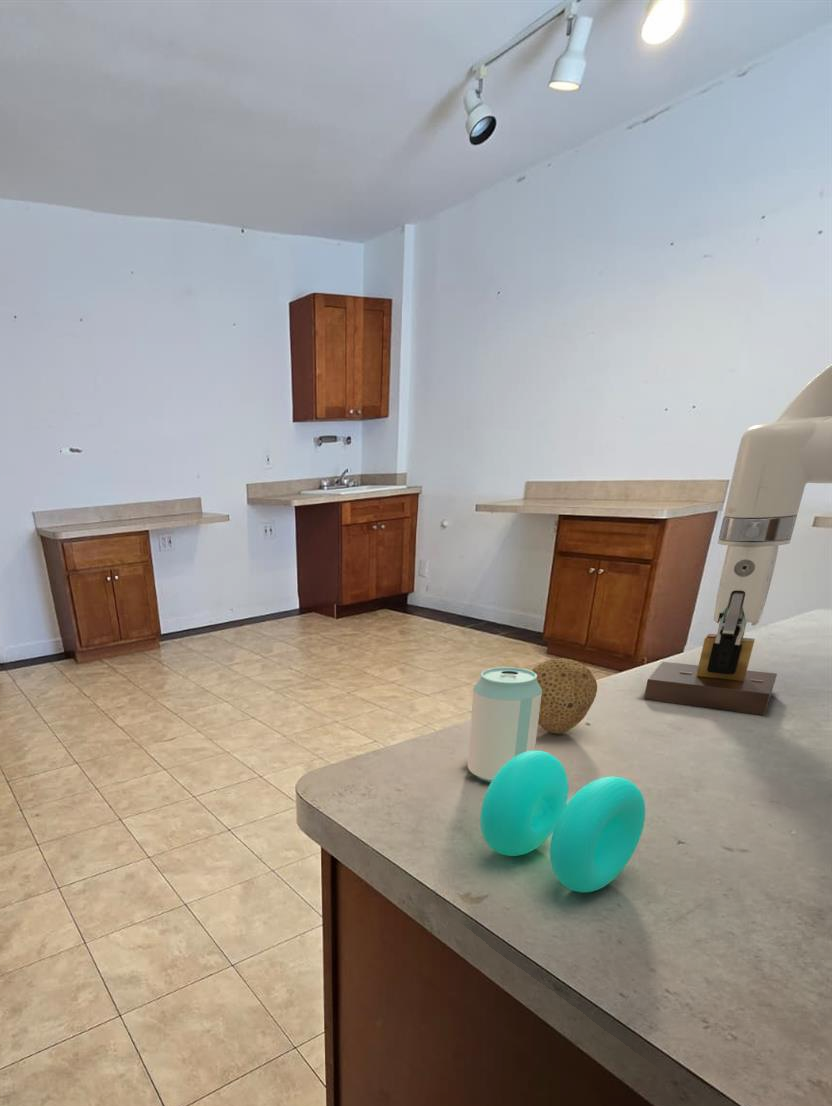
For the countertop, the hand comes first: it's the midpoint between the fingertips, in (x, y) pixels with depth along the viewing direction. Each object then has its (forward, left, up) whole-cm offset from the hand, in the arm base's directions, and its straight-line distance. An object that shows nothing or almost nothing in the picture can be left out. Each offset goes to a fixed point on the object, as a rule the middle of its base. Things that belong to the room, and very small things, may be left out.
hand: (722, 669), depth 89 cm
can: (+16, +39, -4) cm, 42 cm away
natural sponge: (+15, +24, -4) cm, 29 cm away
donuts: (+5, +55, -4) cm, 55 cm away
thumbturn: (0, 0, -1) cm, 1 cm away
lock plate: (+1, 0, -4) cm, 4 cm away
